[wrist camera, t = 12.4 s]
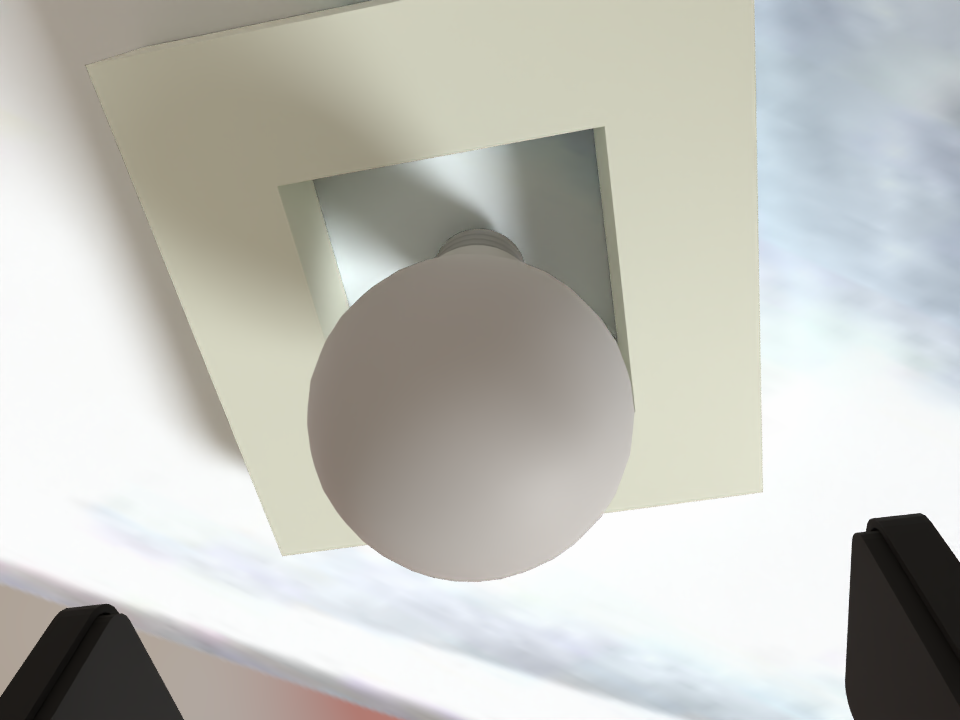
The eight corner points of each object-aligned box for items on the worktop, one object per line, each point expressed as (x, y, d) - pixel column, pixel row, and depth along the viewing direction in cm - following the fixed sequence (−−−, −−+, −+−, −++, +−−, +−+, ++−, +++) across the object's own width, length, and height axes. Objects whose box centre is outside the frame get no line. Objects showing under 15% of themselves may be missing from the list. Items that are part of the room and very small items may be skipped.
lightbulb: (496, 102, 20) (494, 263, 10) (632, 277, 22) (737, 546, 12) (325, 246, 22) (187, 495, 12) (465, 393, 24) (443, 703, 14)
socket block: (714, -70, 18) (753, -72, 15) (733, 432, 24) (762, 492, 22) (141, 47, 19) (85, 65, 17) (303, 492, 26) (282, 555, 23)
